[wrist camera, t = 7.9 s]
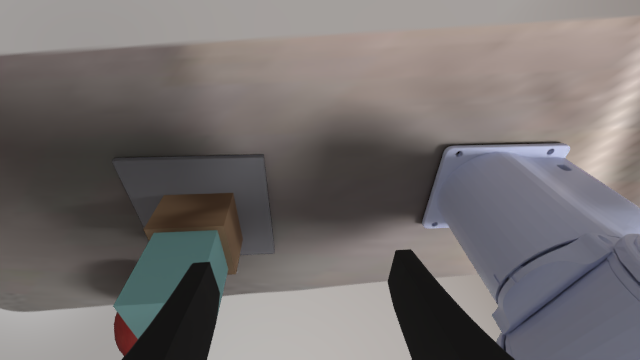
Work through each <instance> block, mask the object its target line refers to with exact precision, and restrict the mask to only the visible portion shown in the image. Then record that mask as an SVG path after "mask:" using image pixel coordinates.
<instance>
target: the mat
mask: <svg viewBox="0 0 640 360" xmlns="http://www.w3.org/2000/svg"><path fill="white" fill-rule="evenodd" d="M112 163H113V165H114V167H115V169H116V171H117V173H118V175H119V177H120V179H121V182H122V184H123V186H124V188H125V190H126V192H127V194H128V196H129V198H130V200H131V202H132V204H133V206H134V208H135V210H136V213H137V215H138V217H139V219H140V221H141V223H142V225H143V227H145V226H146V224H147V223H148V221H149V219H150V218H151V216H152V214H153V213H154V211H155V209H156V208H157V206H158V204H159V203H160V201H161V199H162V198H163V196H164V195H182V194H212V193H233V194H234V199H235V203H236V208H237V213H238V218H239V223H240V228H241V232H242V237H243V241H242V246H241V251H240V255H252V254H273V253H274V252H275V249H274V240H273V232H272V223H271V214H270V206H269V197H268V189H267V180H266V171H265V163H264V155H224V156H181V157H139V158H114V159H113V160H112Z"/></svg>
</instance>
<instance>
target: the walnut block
mask: <svg viewBox="0 0 640 360" xmlns="http://www.w3.org/2000/svg"><path fill="white" fill-rule="evenodd" d="M143 230H144V232H145V234H146V236H147V238H148V240H149V241H150V239H151V237H152V235H153V233H162V232H185V231H208V230H217V231H218V234H219V238H220V241H221V245H222V248H223V252H224V256H225V259H226V263H227V266H228V272H227V275H229V274H236V271H237V266H238V261H239V256H240V251H241V246H242V241H243V237H242V232H241V228H240V223H239V218H238V213H237V208H236V203H235V199H234V194H233V193H212V194H182V195H164V196H163V198H162V199H161V201H160V203H159V204H158V206H157V208H156V209H155V211H154V213H153V214H152V216H151V218H150V219H149V221H148V223H147V224H146V226H145V227H144V229H143Z"/></svg>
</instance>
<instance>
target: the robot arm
mask: <svg viewBox="0 0 640 360" xmlns="http://www.w3.org/2000/svg"><path fill="white" fill-rule="evenodd" d="M548 150H549V151H548ZM569 150H570V147H569V146H568V145H567V144H564V143H554V144H509V145H465V146H449V147H447V148H446V149H445V151H444V153H443V156H442V159H441V162H440V166H439V169H438V172H437V175H436V179H435V182H434V185H433V188H432V192H431V195H430V198H429V201H428V204H427V208H426V211H425V214H424V217H423V221H422V225H423V226H424V228H450V229H451V231H452V232H453V234H454V236H455V237H456V239H457V240H458V242H459V244H460V245H461V247H462V248H463V250H464V252H465V253H466V255H467V256H468V258H469V260H470V261H471V263H472V264H473V266H474V268H475V269H476V271H477V272H478V274H479V276H480V277H481V279H482V280H483V282H484V284H485V285H486V287H487V288H488V290H489V291H490V293H491V295H492V296H493V298H494V300H495V301H496V303H497V304H498V308H497V309H496V311H495V312H494V313H493V314H492V316H493V318H494V320H495V321H496V323H497V325H498V327H499V328H500V330H501V332H502V333H501V334H500V335H499V337H498V339H497V342H495V341H494V340H493V339H492V338H491V337H490V336H488V335H487V334H486V333H485V332H484V331H483V330H482V329H481V328H480V327H479V326H478V325H477V324H476V323H475V322H474V321H473V320H472V319H471V318H470V317H469V316H468V315H467V314H466V313H465V311H463V309H462V308H461V307H460V306H459V305H458V304H457V303H456V302H455V301H454V300H453V298H452V297H451V296H450V295H449V294H448V293H447V292H446V291H445V290H444V288H443V287H442V286H441V285H440V284H439V283H438V282H437V280H436V279H435V278H434V277H433V276H432V274H431V273H430V272H429V271H428V270H427V268H426V267H425V266H424V265H423V264H422V262H421V261H420V260H419V259H418V257H417V256H416V255H415V254H414V252H413V251H412V250H411V249H410V250H396V251H395V255H394V259H393V263H392V267H391V271H390V275H389V279H388V285H389V289H390V294H391V298H392V302H393V306H394V309H395V312H396V315H397V318H398V321H399V324H400V327H401V330H402V332H403V335H404V338H405V341H406V344H407V346H408V349H409V352H410V355H411V357H412V360H640V208H639V207H637V206H636V205H635V204H633V203H632V202H631V201H629V200H628V199H626V198H625V197H623V196H621V195H620V194H618V193H617V192H615V191H614V190H612V189H611V188H609V187H608V186H606V185H605V184H603V183H602V182H600V181H599V180H597V179H596V178H594V177H593V176H591V175H590V174H588V173H587V172H585V171H584V170H582V169H581V168H579V167H578V166H576V165H575V164H573V163H572V162H570V161H569V160H567V159H566V158H565V157H566V156H567V154H568V152H569ZM458 151H460V152H459V153H458V154H456V153H457V152H458ZM434 222H435V223H434ZM219 299H220V291H219V288H218V285H217V282H216V279H215V276H214V273H213V270H212V267H211V264H210V262H198V263H192V264H191V266H190V267H189V269H188V270H187V272H186V273H185V275H184V276H183V278H182V279H181V281H180V282H179V284H178V285H177V287H176V288H175V290H174V291H173V293H172V294H171V296H170V297H169V298H168V300H167V301H166V303H165V304H164V305H163V307H162V308H161V310H160V311H159V312H158V314H157V315H156V317H155V318H154V319H153V321H152V322H151V323H150V325H149V326H148V327H147V329H146V330H145V331H144V332H143V334H142V335H141V336H140V337H139V339H138V340H137V341H136V343H135V344H134V345H133V346H132V348H131V349H130V350H129V351H128V353H127V354H126V355H125V356H124V357H123V359H122V360H207V357H208V353H209V349H210V345H211V341H212V337H213V333H214V329H215V325H216V320H217V314H218V307H219Z"/></svg>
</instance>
